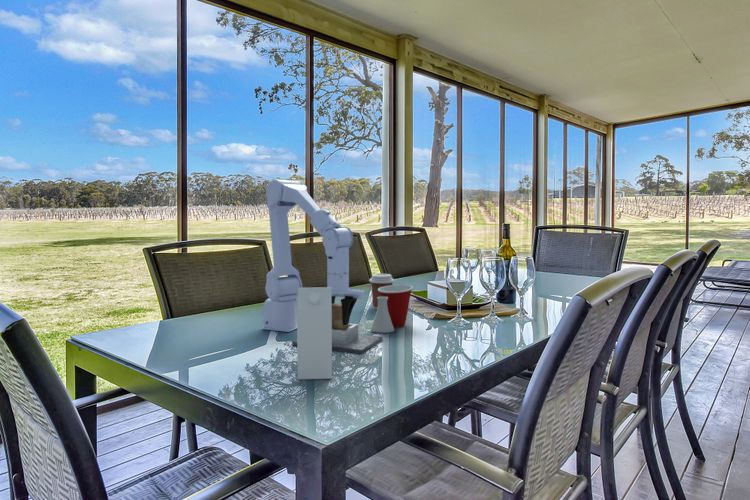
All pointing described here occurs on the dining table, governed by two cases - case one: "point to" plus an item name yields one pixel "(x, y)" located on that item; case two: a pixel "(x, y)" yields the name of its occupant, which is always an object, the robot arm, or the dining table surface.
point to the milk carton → (314, 333)
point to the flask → (382, 318)
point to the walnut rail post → (338, 317)
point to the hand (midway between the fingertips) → (338, 323)
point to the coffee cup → (379, 285)
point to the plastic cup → (397, 302)
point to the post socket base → (351, 340)
